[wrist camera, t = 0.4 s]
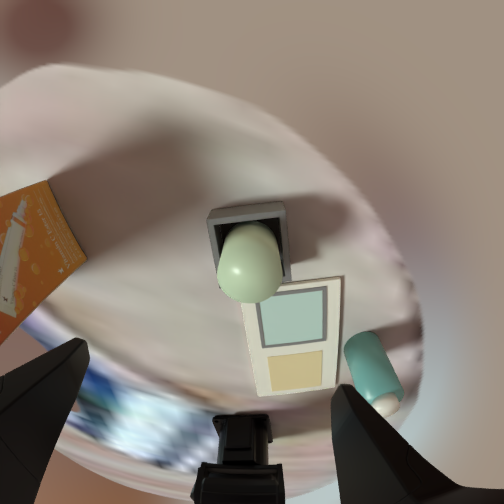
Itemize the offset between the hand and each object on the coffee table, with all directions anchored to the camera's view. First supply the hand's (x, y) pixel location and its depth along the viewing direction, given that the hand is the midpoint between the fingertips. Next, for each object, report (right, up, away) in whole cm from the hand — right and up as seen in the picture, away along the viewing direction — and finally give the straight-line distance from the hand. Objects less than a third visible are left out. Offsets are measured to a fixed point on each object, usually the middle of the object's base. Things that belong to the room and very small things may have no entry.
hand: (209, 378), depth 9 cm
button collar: (+1, +5, +13) cm, 14 cm away
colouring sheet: (+5, -4, +16) cm, 18 cm away
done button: (+1, +5, +11) cm, 12 cm away
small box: (-17, +6, +13) cm, 22 cm away
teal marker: (+12, -5, +17) cm, 21 cm away
